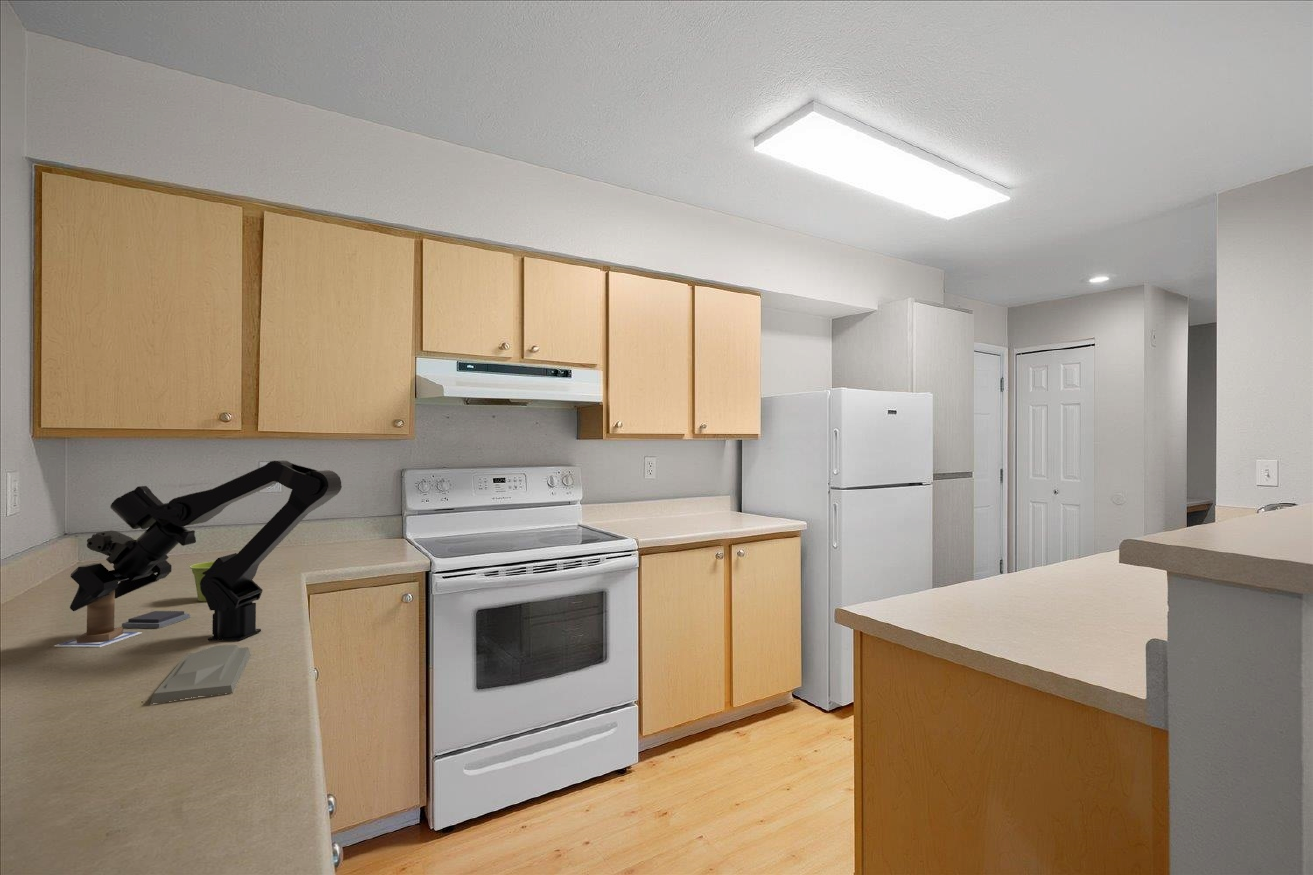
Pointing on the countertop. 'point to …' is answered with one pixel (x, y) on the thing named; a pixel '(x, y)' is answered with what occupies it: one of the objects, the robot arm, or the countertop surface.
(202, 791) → the countertop surface
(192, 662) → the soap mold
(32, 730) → the countertop surface
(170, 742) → the countertop surface
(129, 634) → the print card
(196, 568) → the plant pot
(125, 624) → the ink pad
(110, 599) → the stamp
